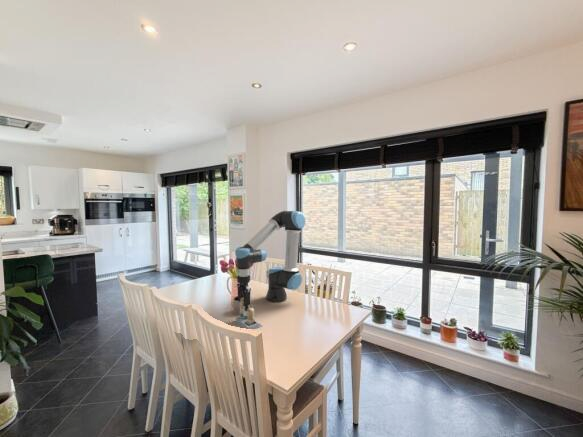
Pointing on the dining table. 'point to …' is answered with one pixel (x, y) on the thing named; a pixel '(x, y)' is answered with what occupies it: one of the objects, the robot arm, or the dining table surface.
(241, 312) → the peg
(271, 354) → the dining table surface
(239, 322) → the board
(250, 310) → the peg
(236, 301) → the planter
